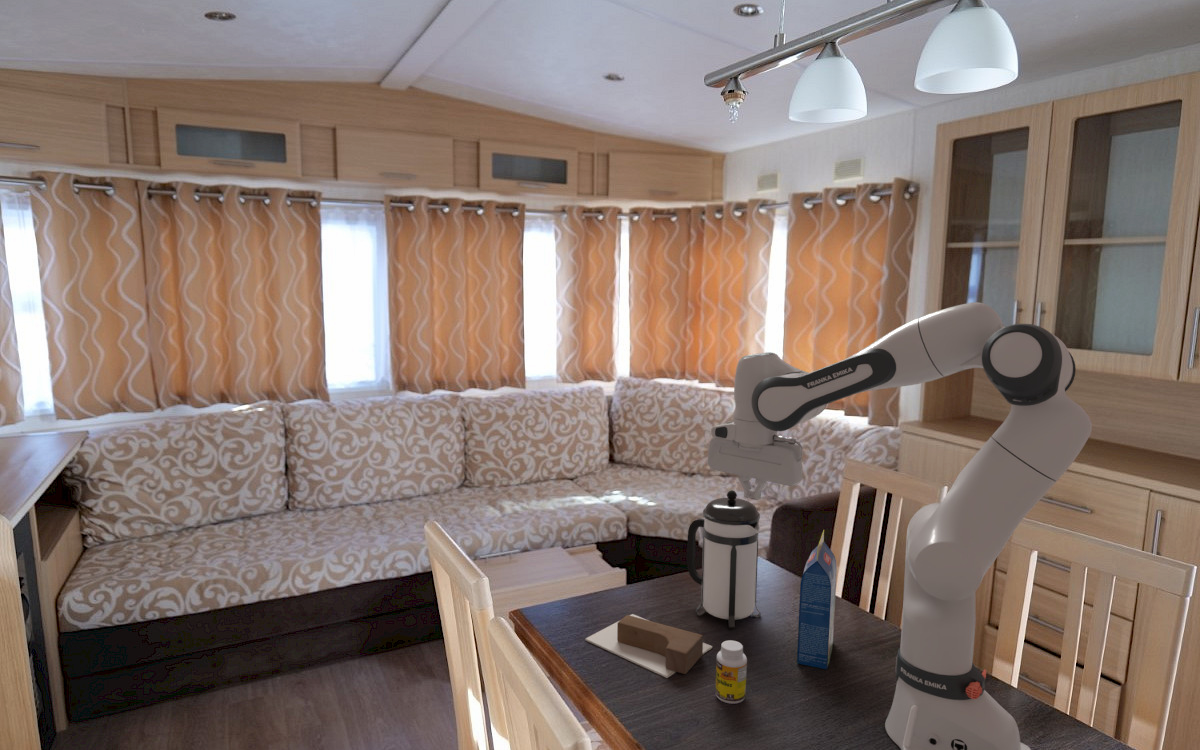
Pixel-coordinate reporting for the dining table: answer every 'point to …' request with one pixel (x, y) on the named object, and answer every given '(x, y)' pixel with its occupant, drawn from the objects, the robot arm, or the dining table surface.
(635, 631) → the wooden block
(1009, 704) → the dining table surface
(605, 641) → the mat
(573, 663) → the dining table surface
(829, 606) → the blue food package
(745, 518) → the coffee press
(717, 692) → the supplement bottle
